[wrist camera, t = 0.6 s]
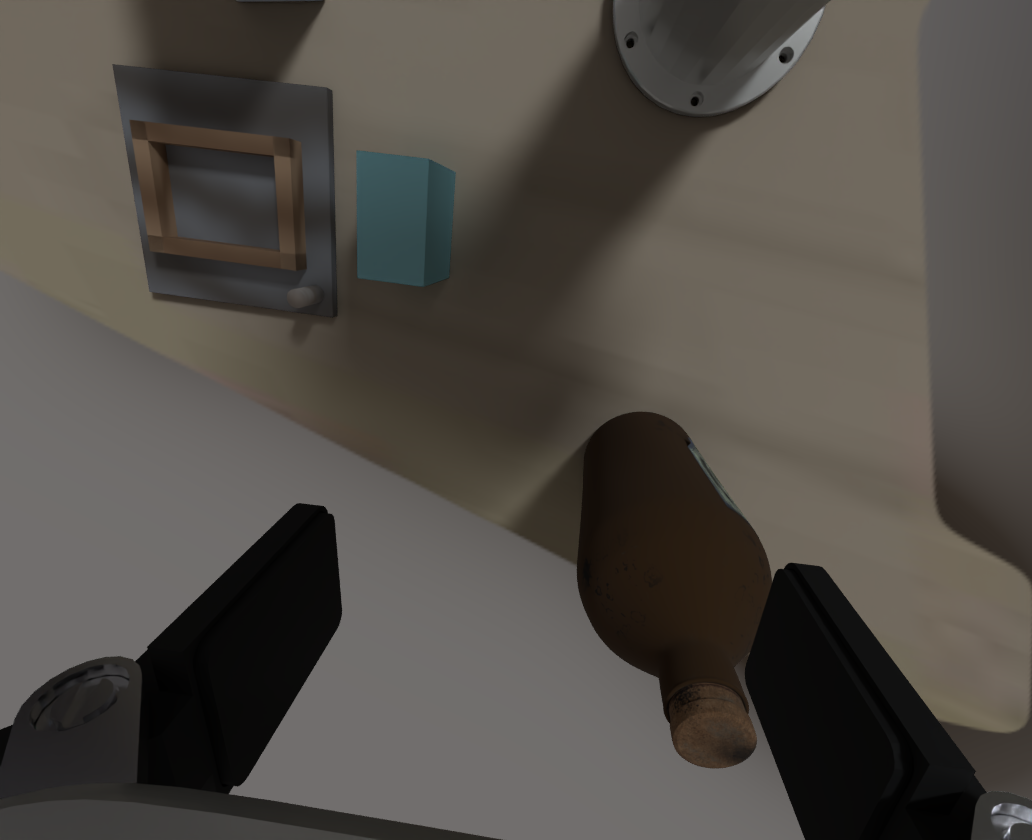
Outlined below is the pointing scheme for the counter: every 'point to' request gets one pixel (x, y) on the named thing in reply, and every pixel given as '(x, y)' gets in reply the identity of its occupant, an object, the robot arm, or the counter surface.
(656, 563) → the olive oil
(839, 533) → the counter surface
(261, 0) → the light bulb box
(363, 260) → the teal block
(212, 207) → the board
